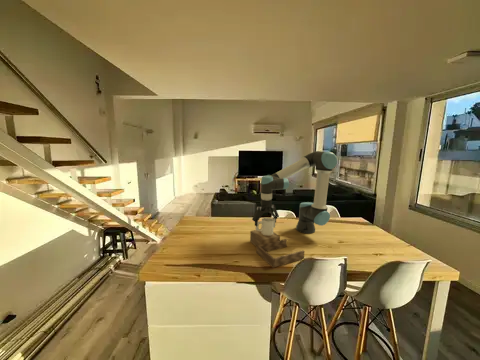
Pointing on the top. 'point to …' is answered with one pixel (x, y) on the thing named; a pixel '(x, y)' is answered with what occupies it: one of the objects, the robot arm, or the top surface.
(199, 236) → the top surface
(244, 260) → the top surface
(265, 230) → the mug
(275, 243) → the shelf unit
